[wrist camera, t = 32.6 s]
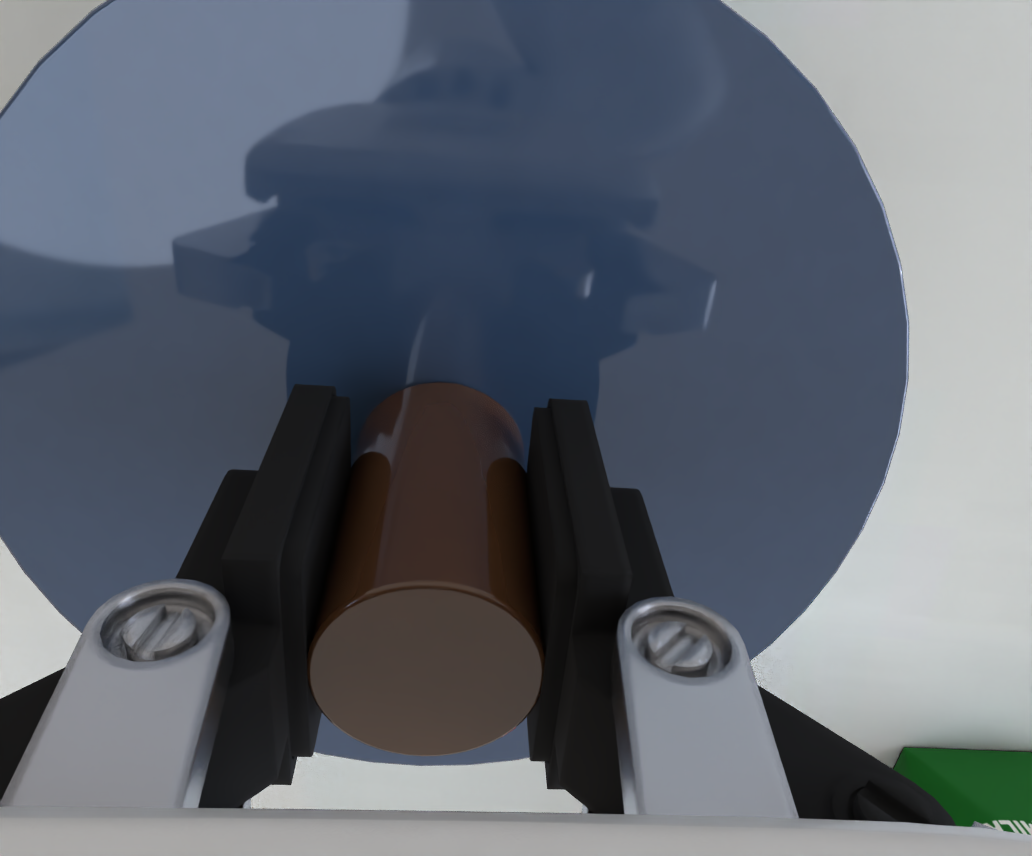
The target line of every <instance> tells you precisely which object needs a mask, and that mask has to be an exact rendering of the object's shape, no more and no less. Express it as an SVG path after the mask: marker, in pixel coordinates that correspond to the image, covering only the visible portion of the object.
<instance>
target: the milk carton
mask: <svg viewBox="0 0 1032 856" xmlns="http://www.w3.org/2000/svg"><path fill="white" fill-rule="evenodd" d="M893 770H895V771H897V772H898V773H900V774H901V775H903V776H905V777H906V778H908V779H909V780H911V781H913V782H914V783H916V784H917V785H918V786H919V787H921V788H922V789H923V790H925V791H926V792H927V793H929V794H930V795H931V796H933V797H934V798H935V799H936V800H937V801H938V802H939V804H940V805H941V806H942V807H943V808H944V809H945V810H946V811H947V812H948V814H949V815H950V816H951V817H952V819H953V821H954V822H955V824H956V826H962V827H971V826H972V825H973V823H974V821H976V822H978V823H981V824H983V825H986V826H989V827H991V828H994V829H997V830H999V831H1006V832H1013V833H1020V834H1026V835H1032V752H1015V751H988V750H961V749H934V748H907V747H904V749H903V751H902V753H901V755H900V757H899V759H898V761H897V763H896V765H895V767H894V769H893Z"/></svg>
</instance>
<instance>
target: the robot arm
mask: <svg viewBox="0 0 1032 856" xmlns="http://www.w3.org/2000/svg"><path fill="white" fill-rule="evenodd" d="M350 471H351V423H350V399H349V397H343V396H337V395H336V388H335V386H322V385H304V384H295V385H294V387H293V389H292V392H291V394H290V396H289V399H288V401H287V403H286V406H285V408H284V411H283V413H282V415H281V418H280V420H279V422H278V425H277V427H276V430H275V432H274V434H273V437H272V439H271V441H270V444H269V446H268V449H267V451H266V453H265V456H264V458H263V460H262V463H261V465H260V468H259V470H238V469H232V470H229V471H228V472H227V473H226V475H225V476H224V478H223V480H222V483H221V485H220V487H219V489H218V491H217V493H216V495H215V497H214V499H213V501H212V503H211V505H210V507H209V509H208V512H207V514H206V516H205V518H204V520H203V522H202V524H201V526H200V528H199V530H198V532H197V534H196V536H195V539H194V541H193V543H192V545H191V547H190V549H189V551H188V553H187V555H186V557H185V559H184V561H183V563H182V565H181V568H180V570H179V572H178V574H177V576H176V578H174V579H164V580H154V581H151V582H147V583H143V584H140V585H136V586H133V587H131V588H129V589H127V590H125V591H123V592H121V593H119V594H117V595H115V596H113V597H112V598H110V599H109V600H108V601H107V602H105V603H104V604H103V605H102V606H100V607H99V608H98V609H97V610H96V612H95V613H94V614H93V616H92V617H91V618H90V620H89V621H88V623H87V624H86V626H85V628H84V630H83V632H82V635H81V637H80V639H79V641H78V643H77V645H76V647H75V649H74V651H73V653H72V655H71V657H70V659H69V661H68V663H67V665H66V667H65V668H63V669H61V670H59V671H57V672H55V673H53V674H51V675H49V676H47V677H45V678H43V679H40V680H38V681H36V682H34V683H32V684H30V685H28V686H26V687H24V688H22V689H20V690H18V691H16V692H14V693H12V694H10V695H8V696H6V697H3V698H1V699H0V856H1032V835H1026V834H1020V833H1013V832H1006V831H999V830H997V829H994V828H991V827H989V826H986V825H983V824H981V823H978V822H976V821H974V823H973V825H972V826H971V827H962V826H956V824H955V822H954V821H953V819H952V817H951V816H950V815H949V814H948V812H947V811H946V810H945V809H944V808H943V807H942V806H941V805H940V804H939V802H938V801H937V800H936V799H935V798H934V797H933V796H931V795H930V794H929V793H927V792H926V791H925V790H923V789H922V788H921V787H919V786H918V785H917V784H916V783H914V782H913V781H911V780H909V779H908V778H906V777H905V776H903V775H901V774H900V773H898V772H897V771H895V770H893V769H892V768H890V767H889V766H887V765H885V764H884V763H882V762H881V761H879V760H877V759H876V758H874V757H872V756H871V755H869V754H868V753H866V752H864V751H863V750H861V749H860V748H858V747H856V746H855V745H853V744H852V743H850V742H848V741H847V740H845V739H844V738H842V737H840V736H839V735H837V734H836V733H834V732H832V731H831V730H829V729H828V728H826V727H824V726H823V725H821V724H819V723H818V722H816V721H815V720H813V719H811V718H810V717H808V716H807V715H805V714H803V713H802V712H800V711H799V710H797V709H795V708H794V707H792V706H791V705H789V704H787V703H786V702H784V701H783V700H781V699H779V698H778V697H776V696H774V695H773V694H771V693H770V692H768V691H766V690H765V689H763V688H762V687H760V686H758V685H757V682H756V679H755V676H754V672H753V669H752V666H751V663H750V660H749V656H748V653H747V650H746V647H745V644H744V642H743V640H742V638H741V636H740V634H739V632H738V631H737V629H736V628H735V627H734V626H733V625H732V624H731V623H730V622H729V621H728V620H727V619H726V618H725V617H723V616H722V615H720V614H719V613H717V612H716V611H714V610H712V609H711V608H709V607H707V606H705V605H702V604H699V603H697V602H694V601H692V600H688V599H682V598H677V597H674V595H673V591H672V588H671V585H670V582H669V579H668V576H667V572H666V569H665V566H664V563H663V560H662V557H661V553H660V550H659V547H658V544H657V541H656V538H655V535H654V531H653V528H652V525H651V522H650V519H649V516H648V512H647V509H646V506H645V503H644V500H643V497H642V494H641V492H640V490H638V489H635V488H615V487H610V486H609V482H608V478H607V474H606V471H605V467H604V463H603V459H602V455H601V451H600V447H599V444H598V440H597V436H596V432H595V428H594V424H593V421H592V417H591V413H590V409H589V405H588V402H587V400H570V399H553V398H549V401H548V405H547V408H541V407H535V408H534V411H533V418H532V427H531V436H530V445H529V454H528V463H527V473H526V474H527V484H528V493H529V503H530V512H531V522H532V531H533V541H534V550H535V560H536V569H537V579H538V588H539V598H540V607H541V617H542V626H543V636H544V645H545V665H544V673H543V680H542V687H541V693H540V697H539V700H538V702H537V703H536V705H535V707H534V708H533V710H532V711H531V713H530V714H529V715H528V716H527V729H528V743H529V755H530V760H531V761H545V769H546V780H547V789H565V790H566V791H568V792H569V793H570V794H571V795H572V796H574V797H575V798H576V799H577V800H579V801H580V802H581V803H582V804H583V806H582V813H528V812H464V811H398V810H325V809H251V798H252V797H253V796H255V795H256V794H258V793H259V792H261V791H262V790H263V789H265V788H266V787H268V786H269V785H291V783H292V778H293V774H294V769H295V765H296V760H297V757H311V756H312V755H313V752H314V748H315V744H316V739H317V734H318V729H319V724H320V719H321V714H322V712H321V710H320V709H319V707H318V706H317V705H316V703H315V701H314V699H313V697H312V695H311V692H310V689H309V686H308V676H307V651H308V646H309V642H310V638H311V634H312V630H313V625H314V621H315V617H316V613H317V609H318V605H319V600H320V596H321V592H322V588H323V584H324V580H325V575H326V571H327V567H328V563H329V559H330V554H331V550H332V546H333V542H334V538H335V534H336V529H337V525H338V521H339V517H340V513H341V508H342V504H343V500H344V496H345V492H346V488H347V483H348V479H349V475H350Z"/></svg>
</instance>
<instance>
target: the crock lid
mask: <svg viewBox="0 0 1032 856" xmlns="http://www.w3.org/2000/svg"><path fill="white" fill-rule="evenodd" d="M908 370H909V318H908V310H907V303H906V296H905V289H904V281H903V274H902V267H901V261H900V258H899V255H898V251H897V248H896V245H895V241H894V238H893V234H892V231H891V228H890V224H889V221H888V218H887V214H886V211H885V208H884V204H883V202H882V200H881V198H880V196H879V194H878V191H877V189H876V187H875V185H874V183H873V181H872V179H871V177H870V175H869V173H868V170H867V168H866V166H865V164H864V162H863V160H862V158H861V156H860V154H859V152H858V150H857V147H856V145H855V144H854V142H853V141H852V139H851V138H850V136H849V135H848V134H847V132H846V131H845V129H844V128H843V126H842V125H841V123H840V122H839V120H838V119H837V117H836V116H835V115H834V113H833V112H832V110H831V109H830V107H829V106H828V104H827V103H826V101H825V100H824V99H823V97H822V96H821V94H820V93H819V91H818V90H817V88H816V87H815V86H814V85H813V84H812V83H811V82H810V81H809V80H808V79H807V78H806V77H805V76H804V75H803V73H802V72H801V71H800V70H799V69H798V68H797V67H796V66H795V65H794V64H793V63H792V62H791V61H790V60H789V59H788V58H787V57H786V55H785V54H784V53H783V52H782V51H781V50H780V49H779V48H778V47H777V46H776V45H775V44H774V43H773V42H772V41H771V40H770V39H769V37H768V36H767V35H765V34H764V33H763V32H761V31H760V30H759V29H758V28H756V27H755V26H754V25H752V24H751V23H750V22H749V21H747V20H746V19H745V18H743V17H742V16H741V15H739V14H738V13H737V12H736V11H734V10H733V9H732V8H730V7H729V6H728V5H727V4H725V3H724V2H723V1H721V0H106V1H104V2H103V3H101V4H100V5H98V6H97V7H95V8H94V9H93V10H91V11H90V12H89V13H88V14H87V15H86V16H85V17H84V18H83V19H82V20H81V21H80V22H79V23H78V24H77V25H76V26H75V27H74V28H72V29H71V30H70V31H69V32H68V33H67V34H66V35H65V36H64V37H63V38H62V39H61V40H60V41H59V42H58V43H57V44H56V45H55V46H53V47H52V48H51V49H50V50H49V51H48V52H47V53H46V54H45V55H44V56H43V57H42V58H41V59H40V60H39V61H38V62H37V63H36V65H35V66H34V67H33V69H32V70H31V71H30V73H29V74H28V75H27V77H26V78H25V79H24V81H23V82H22V83H21V85H20V86H19V87H18V89H17V90H16V92H15V93H14V94H13V96H12V97H11V98H10V100H9V101H8V102H7V104H6V105H5V106H4V108H3V109H2V110H1V112H0V537H1V539H2V540H3V542H4V543H5V545H6V546H7V548H8V549H9V551H10V552H11V554H12V555H13V557H14V558H15V560H16V561H17V562H18V564H19V565H20V567H21V568H22V570H23V571H24V573H25V574H26V575H27V576H28V577H29V578H30V580H31V581H32V582H33V583H34V584H35V585H36V586H37V588H38V589H39V590H40V591H41V592H42V593H43V594H44V596H45V597H46V598H47V599H48V600H49V601H50V602H51V604H52V605H53V606H54V607H55V608H56V609H57V611H58V612H59V613H60V614H61V615H63V616H64V617H65V618H66V619H67V620H68V621H69V622H70V623H71V624H72V625H73V626H75V627H76V628H77V629H78V630H79V631H80V632H81V633H82V632H83V630H84V628H85V626H86V624H87V623H88V621H89V620H90V618H91V617H92V616H93V614H94V613H95V612H96V610H97V609H98V608H99V607H100V606H102V605H103V604H104V603H105V602H107V601H108V600H109V599H110V598H112V597H113V596H115V595H117V594H119V593H121V592H123V591H125V590H127V589H129V588H131V587H133V586H136V585H140V584H143V583H147V582H151V581H154V580H164V579H174V578H176V576H177V574H178V572H179V570H180V568H181V565H182V563H183V561H184V559H185V557H186V555H187V553H188V551H189V549H190V547H191V545H192V543H193V541H194V539H195V536H196V534H197V532H198V530H199V528H200V526H201V524H202V522H203V520H204V518H205V516H206V514H207V512H208V509H209V507H210V505H211V503H212V501H213V499H214V497H215V495H216V493H217V491H218V489H219V487H220V485H221V483H222V480H223V478H224V476H225V475H226V473H227V472H228V471H229V470H232V469H238V470H259V468H260V465H261V463H262V460H263V458H264V456H265V453H266V451H267V449H268V446H269V444H270V441H271V439H272V437H273V434H274V432H275V430H276V427H277V425H278V422H279V420H280V418H281V415H282V413H283V411H284V408H285V406H286V403H287V401H288V399H289V396H290V394H291V392H292V389H293V387H294V385H295V384H304V385H322V386H335V388H336V395H337V396H343V397H349V399H350V423H351V471H350V475H349V479H348V483H347V488H346V492H345V496H344V500H343V504H342V508H341V513H340V517H339V521H338V525H337V529H336V534H335V538H334V542H333V546H332V550H331V554H330V559H329V563H328V567H327V571H326V575H325V580H324V584H323V588H322V592H321V596H320V600H319V605H318V609H317V613H316V617H315V621H314V625H313V630H312V634H311V638H310V642H309V646H308V651H307V676H308V686H309V689H310V692H311V695H312V697H313V699H314V701H315V703H316V705H317V706H318V707H319V709H320V710H321V712H322V714H321V719H320V724H319V729H318V734H317V739H316V744H315V748H314V752H316V753H320V754H324V755H330V756H336V757H342V758H348V759H354V760H361V761H367V762H374V763H388V764H402V765H415V766H442V765H474V764H484V763H493V762H503V761H513V760H519V759H524V758H529V757H530V755H529V743H528V729H527V716H528V715H529V714H530V713H531V711H532V710H533V708H534V707H535V705H536V703H537V702H538V700H539V697H540V693H541V687H542V680H543V673H544V665H545V645H544V636H543V626H542V617H541V607H540V598H539V588H538V579H537V569H536V560H535V550H534V541H533V531H532V522H531V512H530V503H529V493H528V484H527V474H526V473H527V463H528V454H529V445H530V436H531V427H532V418H533V411H534V408H535V407H541V408H547V405H548V401H549V398H553V399H570V400H587V402H588V405H589V409H590V413H591V417H592V421H593V424H594V428H595V432H596V436H597V440H598V444H599V447H600V451H601V455H602V459H603V463H604V467H605V471H606V474H607V478H608V482H609V486H610V487H615V488H635V489H638V490H640V492H641V494H642V497H643V500H644V503H645V506H646V509H647V512H648V516H649V519H650V522H651V525H652V528H653V531H654V535H655V538H656V541H657V544H658V547H659V550H660V553H661V557H662V560H663V563H664V566H665V569H666V572H667V576H668V579H669V582H670V585H671V588H672V591H673V595H674V597H677V598H682V599H688V600H692V601H694V602H697V603H699V604H702V605H705V606H707V607H709V608H711V609H712V610H714V611H716V612H717V613H719V614H720V615H722V616H723V617H725V618H726V619H727V620H728V621H729V622H730V623H731V624H732V625H733V626H734V627H735V628H736V629H737V631H738V632H739V634H740V636H741V638H742V640H743V642H744V644H745V647H746V650H747V653H748V656H749V660H750V661H751V660H752V659H753V658H754V657H756V656H757V655H758V654H759V653H761V652H762V651H763V650H764V649H766V648H767V647H768V646H770V645H771V644H772V643H773V642H774V641H775V640H776V639H777V638H778V637H779V636H780V635H781V634H782V633H783V632H784V631H785V630H786V629H787V628H788V627H789V626H790V625H791V624H792V623H793V622H794V621H795V620H796V619H797V618H798V617H799V616H800V615H801V614H802V613H803V612H804V611H805V610H806V609H807V608H808V607H809V605H810V604H811V603H812V602H813V600H814V599H815V598H816V597H817V595H818V594H819V593H820V592H821V591H822V589H823V588H824V587H825V586H826V584H827V583H828V582H829V581H830V579H831V578H832V577H833V576H834V574H835V573H836V572H837V570H838V569H839V567H840V566H841V564H842V562H843V561H844V559H845V558H846V556H847V554H848V553H849V551H850V549H851V548H852V546H853V545H854V543H855V541H856V540H857V538H858V537H859V535H860V533H861V532H862V530H863V528H864V526H865V524H866V522H867V520H868V518H869V515H870V513H871V511H872V509H873V507H874V504H875V502H876V500H877V498H878V496H879V494H880V491H881V489H882V487H883V485H884V483H885V479H886V476H887V473H888V470H889V466H890V463H891V460H892V457H893V453H894V450H895V447H896V444H897V440H898V437H899V434H900V429H901V422H902V416H903V410H904V403H905V397H906V391H907V385H908Z"/></svg>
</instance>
